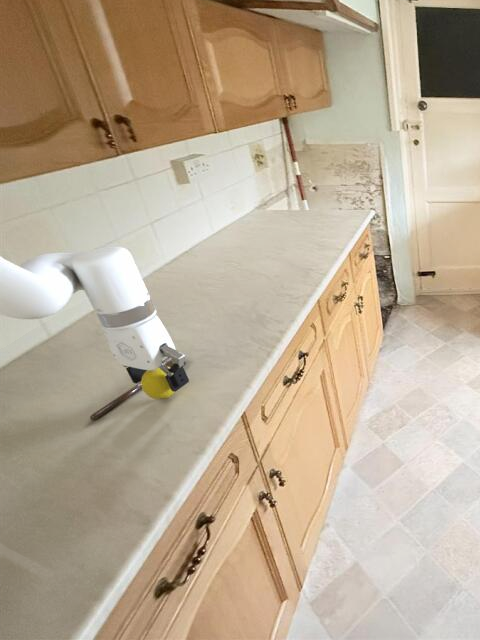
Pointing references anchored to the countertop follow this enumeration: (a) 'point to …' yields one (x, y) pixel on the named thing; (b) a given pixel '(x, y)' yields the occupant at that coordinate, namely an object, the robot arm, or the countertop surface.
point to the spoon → (120, 398)
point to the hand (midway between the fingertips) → (161, 382)
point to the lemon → (156, 384)
